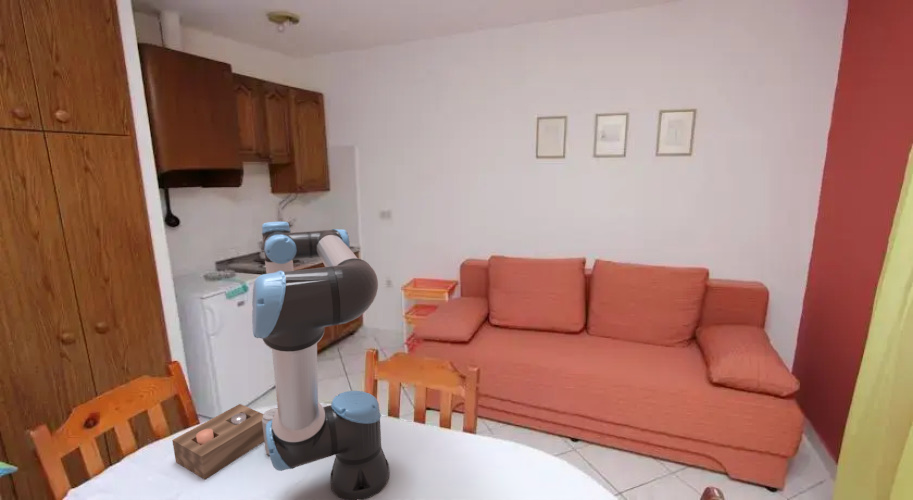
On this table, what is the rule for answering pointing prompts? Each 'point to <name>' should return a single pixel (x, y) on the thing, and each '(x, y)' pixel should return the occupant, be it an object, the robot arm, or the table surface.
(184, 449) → the socket board
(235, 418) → the grey plug
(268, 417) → the beverage can
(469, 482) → the table surface
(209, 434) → the terracotta plug
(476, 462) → the table surface
